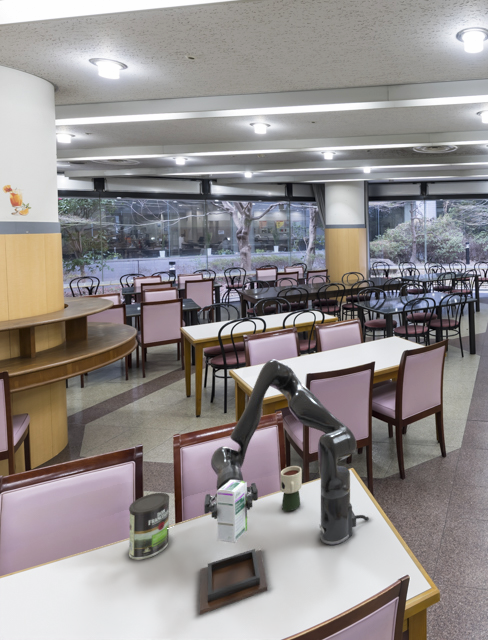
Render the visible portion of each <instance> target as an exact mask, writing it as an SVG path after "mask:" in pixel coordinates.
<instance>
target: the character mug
mask: <svg viewBox="0 0 488 640" xmlns="http://www.w3.org/2000/svg"><path fill="white" fill-rule="evenodd" d="M302 470H303V469H302V467H301V466H298V465H292V466H290V465H289V466H287V467H285V468H283V469H281V471H280V492H281V493H283V495H282V501H281V510H282V511H284V512H290V511H291V512H292V511H294V510H296V509H298V508H300V506H301V497H300V490H301V489H302V487H303V486H302V485H303V484H302V483H303V482H302V481H303V480H302V479H303V471H302Z"/></svg>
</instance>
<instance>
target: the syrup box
mask: <svg viewBox="0 0 488 640" xmlns="http://www.w3.org/2000/svg"><path fill="white" fill-rule="evenodd" d="M247 483H248V482H247V481H245V480H243V481H241V480H229V482H228V483H226V484H225V485H223V486H222V487H221V488H220V489H218V490H217V489H216V493H217V519H216V531H217V533H216V535H217V539H216V540H217V541H220V542H225V543H231V544H235V543H236V542H237V541H238V540H239V539H240V538H241V537H242V536H243V535H244V534H245V533H246V531H247V530H248V510H247V487H248V484H247Z"/></svg>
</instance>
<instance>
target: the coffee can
mask: <svg viewBox="0 0 488 640" xmlns="http://www.w3.org/2000/svg"><path fill="white" fill-rule="evenodd" d="M128 510H129V511H128V512H129V543H128V544H129V547H128V549H129V550H128V556H129V558H130V559H132V560H136V561H138V560H139V561H140V560H145V559H149V558H152V557H154V556H156V555H158V554H160V553H161V552H163V551H164V550H165V549H166V548H167V547H168V546H169V542H170V541H169V533H170V532H169V529H167V528H170V527H169V526H170V524H169V522H170V521H169V520H170V519H169V518H170V516H169V515H170V495H169V494H168V493H166V492H155V493H150V494H146V495H143V496H141V497H139V498H137V499H135V500H134V501H133V502H132V503H131V504H129V507H128Z"/></svg>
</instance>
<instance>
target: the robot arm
mask: <svg viewBox="0 0 488 640" xmlns="http://www.w3.org/2000/svg"><path fill="white" fill-rule="evenodd" d="M270 387H271V388H273V389H275V390H277V391H278V392H279V393H280V394H282V395H283V396H284V397H285V398H286V401H287V407H288V409H289V411H290V413H291V414H292V415H293V417H294V418H295V419H296V421H298V422H299V423H300V424H302V425H303V426H306V427H308V428H310V429H315V430H317V431H319V432H322V433H324V434H321V436H319V439H318V442H317V459H318V460H317V461H318V473H319V478H320V523H319V529H320V533H319V534H320V536H319V537H320V540H321V542H322V543H323V544H325V545H330V546H333V545H339V544H341V543H343V542H345V541H346V540H348V539H349V538H350V537H352V536H353V528H355V527H357V520H358V519H363V520H364V521H368V520H369V516H366V515H364V514H358V515H355V513H354V511H353V506H352V503H351V471H350V470H349V469H348V467H345V466H344V465H338V462H340V461H342V460H344V459H346V458H348V457H351V456H352V455H353V454H354V453H355V452H356V450H357V447H358V446H357V445H358V444H357V440H356V437H355V435H354V433H353V432H352V430H351V429H350V428H349V427H348V426H347V425H346V424H344V423H343V422H342V421H340V419H338V418H337V417H336V416H334V414H333V413H331V412H330V411H329V409H327V408H326V407H325V406H324V404H323V403H322V402H321V401H320V400H319V399H318V398H317V396H315V394H314V393H312V392H311V390H310V389H309V388H308V387H306V385H304V384H303V383H302V382H301V381H300V379H299V378H298V377H297V375H296V373H295V372H294V371H293V369H292V368H291V367H290V366H288V365H287V364H285V363H283V362H281V361H279V360H277V359H270V360H268V361H267V362H265V363H264V365H263V367H262V368H261V369H260V371H259V373H258V376H257V378H256V381H255V384H254V386H253V388H252V390H251V392H250V395H249V399H248V401H247V403H246V406H245V408H244V410H243V412H242V414H241V416H240V418H239V419H238V421H237V423H236V424H235V426H234V428H233V430H232V432H231V433H230V439H231V440H232V441H233V442H234V443H236V444H237V445H238V449H237V450H236V449H234V448H231V447H230V446H220V447H218V448H217V449H216V450H215V451H214V452H213V454H212V456H211V460H210V466H211V468H212V470H213V472H214V473H215V475H216V477H217V478H216V491H217V490H218V489H220V488H221V487H222V486H223V485H225V484H226V483H228V482H229V480H241V481H244V477H243V476H244V475H243V472H242V467H243V465H244V462H245V458H246V454H247V450H248V447H249V444H250V442H251V440H252V438H253V437H254V434H255V433H256V431H257V429H258V426H260V422H261V419H262V412H263V405H264V399H265V396H266V393H267V391H268V390H269V388H270ZM258 493H259V491H258V487H257V485H256V482H252V483H251V484H250V485H249V486H247V511H250V510H251V508H253V502H254V501H258V499H259V495H258ZM203 505H204V506H203V507H204V510H203V511H204V512H203V514H206V515H207V514H209V513H211V518H212V519H214V520H217V492H216V494H214V495H211V494H210V493H207V494H206V495H205V499H204V504H203Z"/></svg>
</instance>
